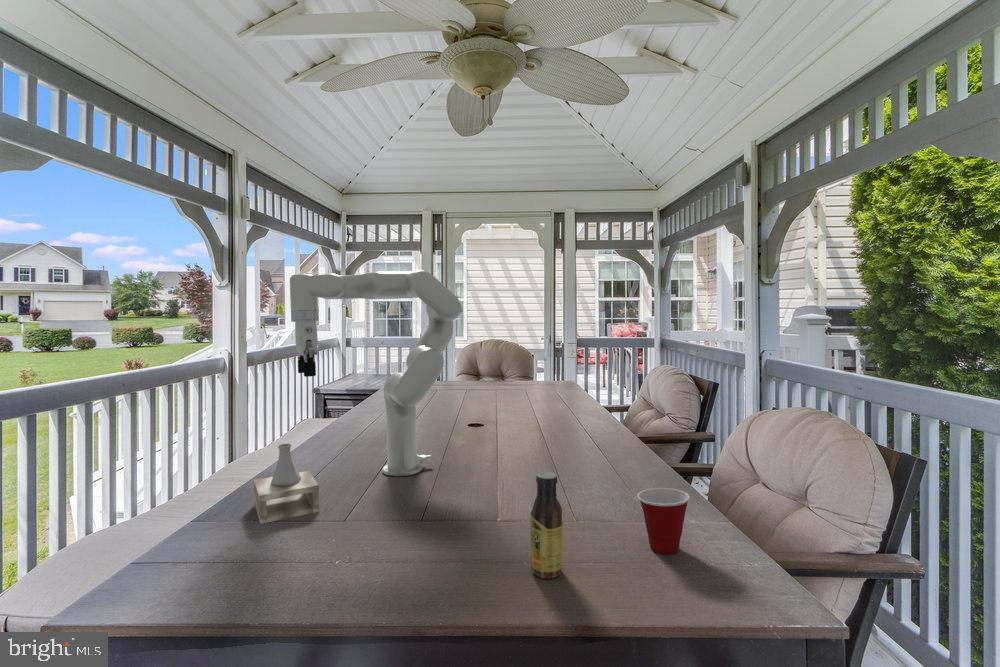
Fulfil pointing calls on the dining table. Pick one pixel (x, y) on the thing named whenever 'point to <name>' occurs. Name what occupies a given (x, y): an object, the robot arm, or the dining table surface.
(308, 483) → the grooved beige box
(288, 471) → the flask
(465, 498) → the dining table surface
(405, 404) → the robot arm
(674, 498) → the plastic cup
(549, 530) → the sauce bottle
